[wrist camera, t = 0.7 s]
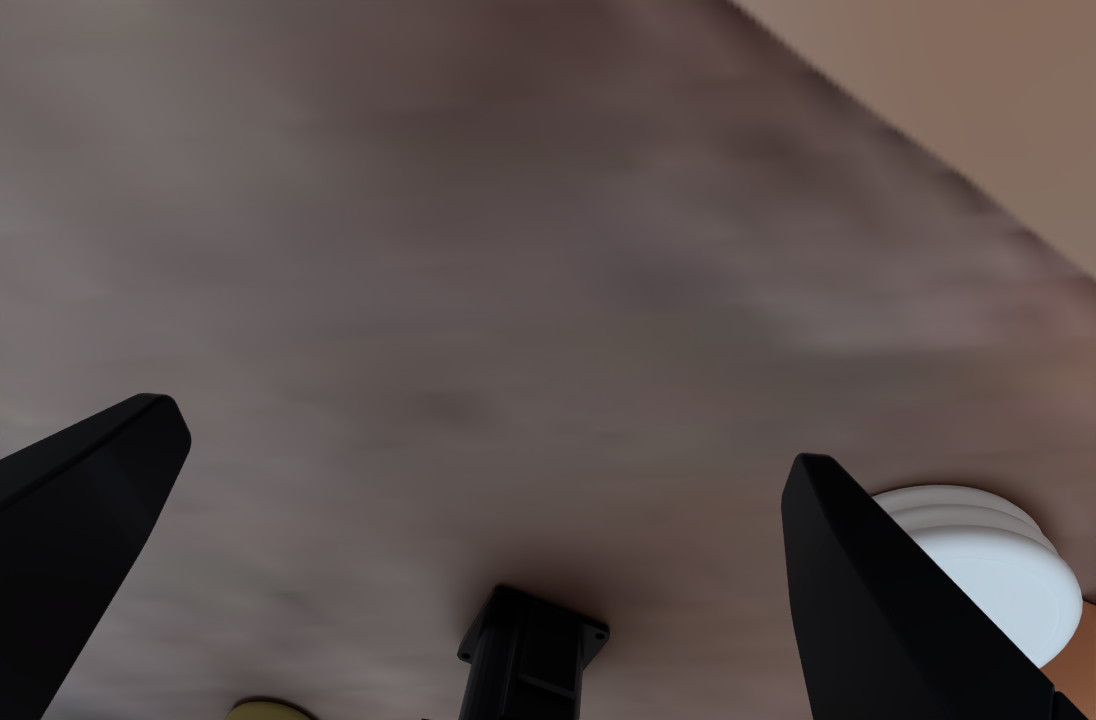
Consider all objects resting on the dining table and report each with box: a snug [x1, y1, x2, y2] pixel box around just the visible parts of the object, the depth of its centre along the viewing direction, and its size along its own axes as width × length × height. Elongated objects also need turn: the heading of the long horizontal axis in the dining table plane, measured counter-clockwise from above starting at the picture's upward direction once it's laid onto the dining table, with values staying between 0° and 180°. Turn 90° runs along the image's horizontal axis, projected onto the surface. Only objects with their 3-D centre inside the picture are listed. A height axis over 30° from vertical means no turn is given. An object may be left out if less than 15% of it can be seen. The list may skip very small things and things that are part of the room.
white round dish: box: [872, 485, 1083, 668], centre depth 27 cm, size 10×10×4 cm
